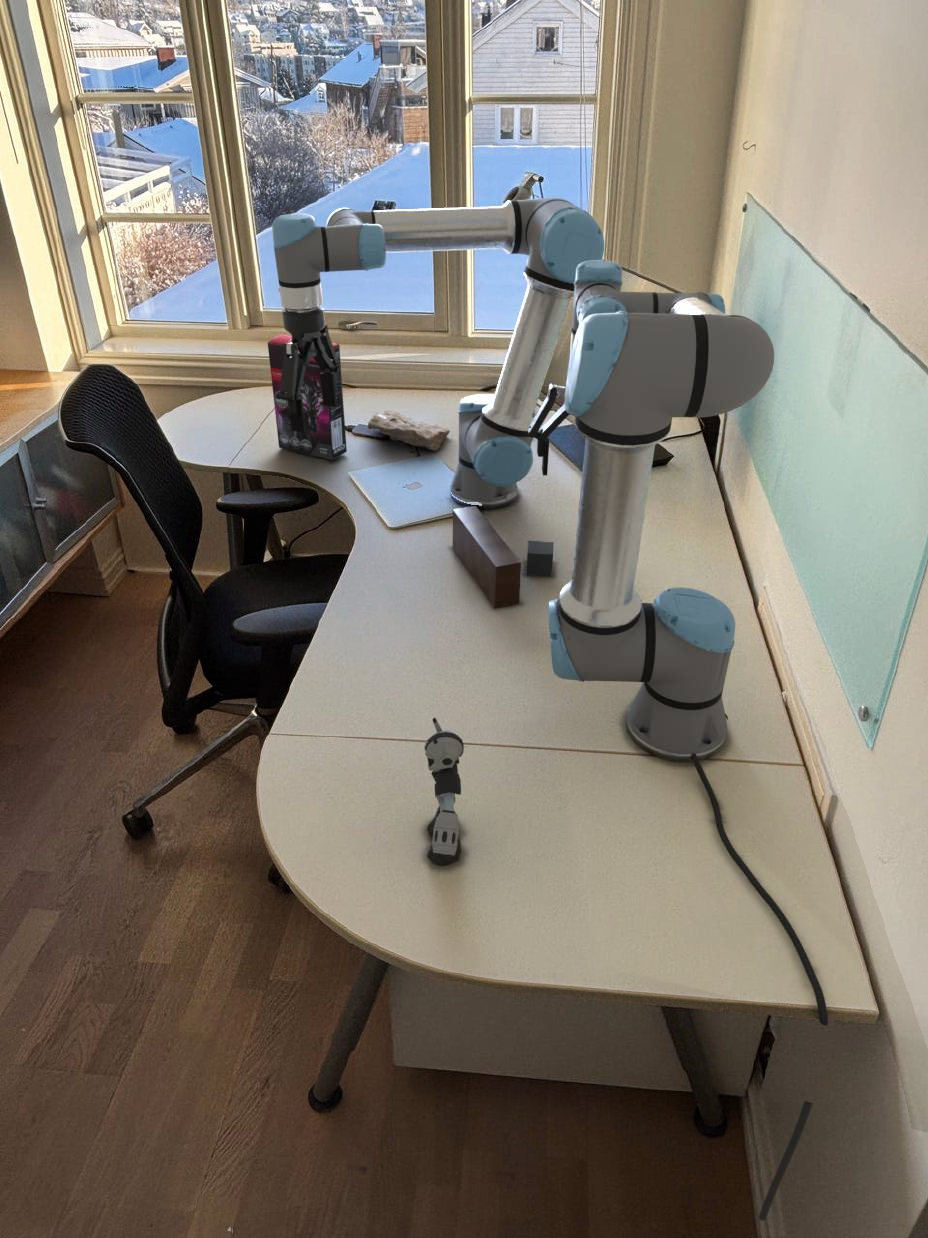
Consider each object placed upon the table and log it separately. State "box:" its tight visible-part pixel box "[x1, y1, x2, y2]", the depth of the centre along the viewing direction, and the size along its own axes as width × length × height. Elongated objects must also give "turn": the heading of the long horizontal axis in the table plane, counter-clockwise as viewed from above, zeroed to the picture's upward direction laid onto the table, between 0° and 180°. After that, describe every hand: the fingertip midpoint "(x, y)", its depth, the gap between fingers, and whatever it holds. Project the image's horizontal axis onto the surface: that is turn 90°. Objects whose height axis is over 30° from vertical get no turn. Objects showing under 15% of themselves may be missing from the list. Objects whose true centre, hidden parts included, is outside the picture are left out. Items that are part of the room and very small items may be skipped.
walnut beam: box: [452, 506, 522, 609], centre depth 179 cm, size 24×5×9 cm, turn 20°
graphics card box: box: [267, 333, 348, 461], centre depth 223 cm, size 17×7×27 cm, turn 62°
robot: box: [423, 717, 465, 867], centre depth 118 cm, size 20×5×20 cm, turn 3°
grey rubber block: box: [525, 540, 555, 577], centre depth 182 cm, size 5×5×5 cm
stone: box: [367, 410, 451, 451], centre depth 235 cm, size 21×15×6 cm
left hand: (314, 417), depth 180 cm, fingers open, 13 cm apart
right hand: (581, 472), depth 168 cm, fingers open, 13 cm apart
